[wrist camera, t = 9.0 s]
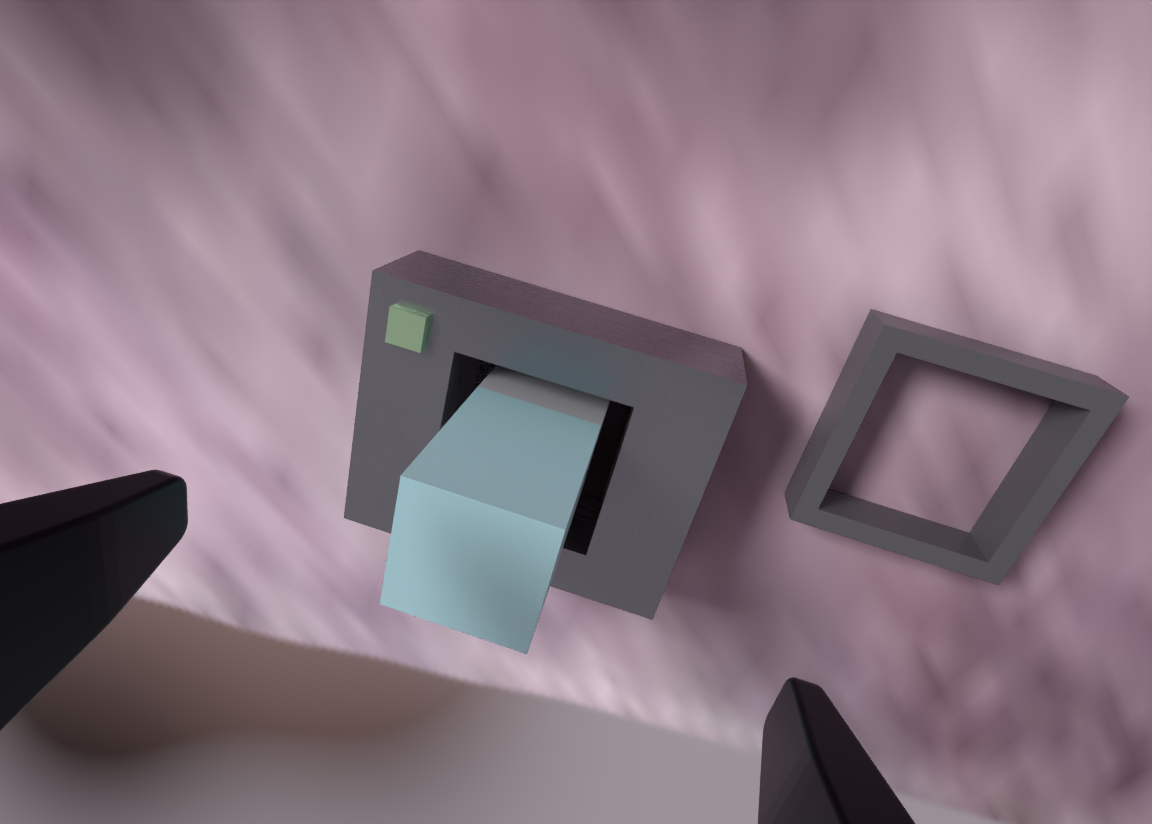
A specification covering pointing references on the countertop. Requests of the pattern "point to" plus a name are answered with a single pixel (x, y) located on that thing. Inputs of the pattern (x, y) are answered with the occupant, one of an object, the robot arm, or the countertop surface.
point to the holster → (1021, 495)
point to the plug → (492, 507)
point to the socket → (567, 357)
